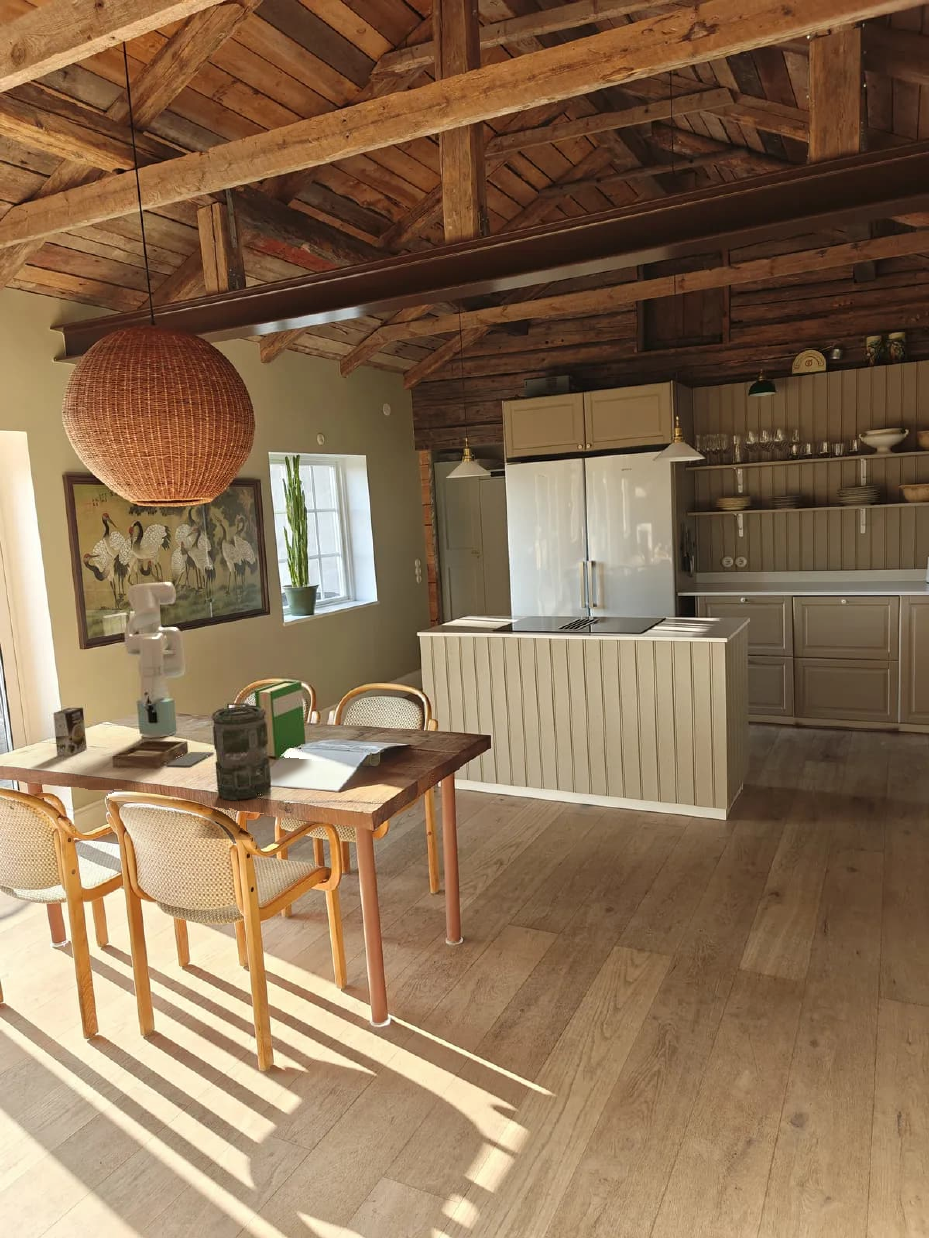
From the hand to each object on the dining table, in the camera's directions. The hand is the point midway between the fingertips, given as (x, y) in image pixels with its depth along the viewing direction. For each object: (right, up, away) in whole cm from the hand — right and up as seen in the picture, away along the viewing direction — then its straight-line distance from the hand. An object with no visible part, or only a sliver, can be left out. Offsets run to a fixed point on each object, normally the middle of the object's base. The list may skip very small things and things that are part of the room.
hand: (157, 720), depth 311 cm
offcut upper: (-1, -13, -8) cm, 15 cm away
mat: (+14, -13, -7) cm, 21 cm away
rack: (0, -13, -4) cm, 14 cm away
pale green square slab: (0, -4, +1) cm, 4 cm away
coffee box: (-35, -13, +10) cm, 39 cm away
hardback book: (+45, -11, -1) cm, 47 cm away
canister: (+43, -17, -46) cm, 66 cm away
